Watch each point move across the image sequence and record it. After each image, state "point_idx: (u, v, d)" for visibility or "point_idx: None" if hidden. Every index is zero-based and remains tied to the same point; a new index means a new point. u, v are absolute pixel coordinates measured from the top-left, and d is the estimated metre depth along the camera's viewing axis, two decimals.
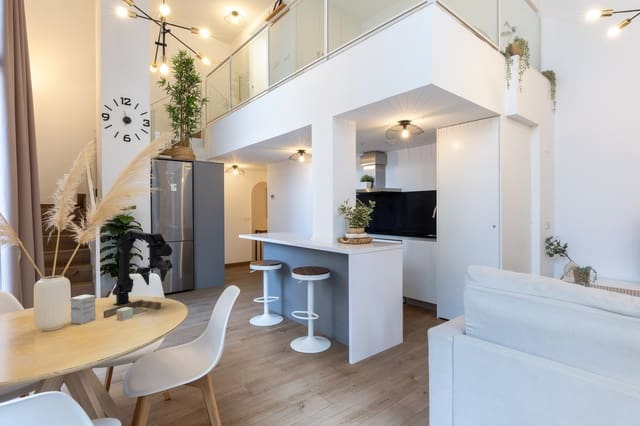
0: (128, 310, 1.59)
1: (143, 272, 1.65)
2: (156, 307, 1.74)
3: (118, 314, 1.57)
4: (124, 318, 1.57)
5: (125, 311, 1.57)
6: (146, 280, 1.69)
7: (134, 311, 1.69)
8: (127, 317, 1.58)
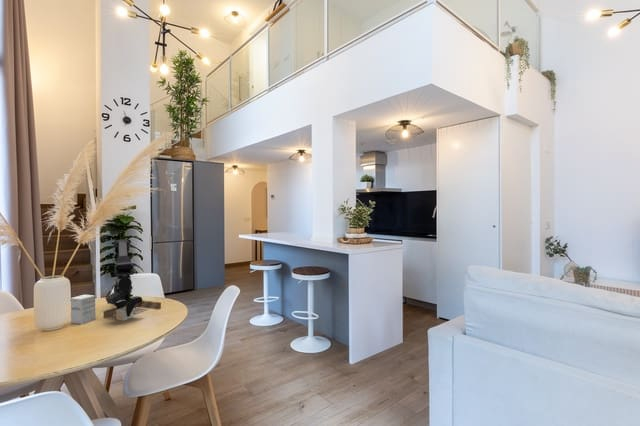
0: None
1: None
2: (156, 307, 1.74)
3: (118, 314, 1.57)
4: (124, 318, 1.57)
5: (125, 311, 1.57)
6: None
7: (134, 311, 1.69)
8: (127, 317, 1.58)
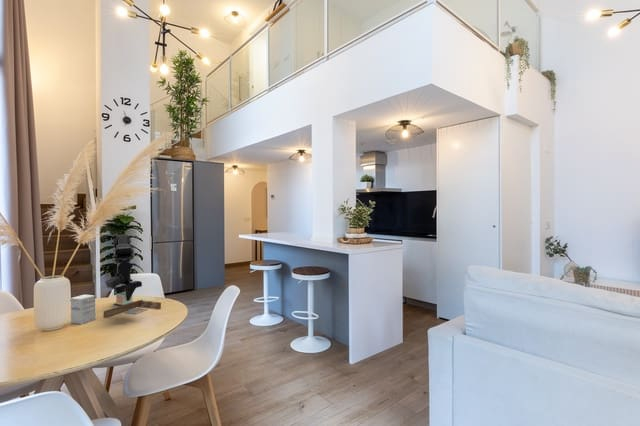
0: None
1: None
2: (156, 307, 1.74)
3: (118, 298, 1.57)
4: (124, 302, 1.56)
5: (125, 295, 1.57)
6: None
7: (134, 311, 1.69)
8: (127, 301, 1.58)
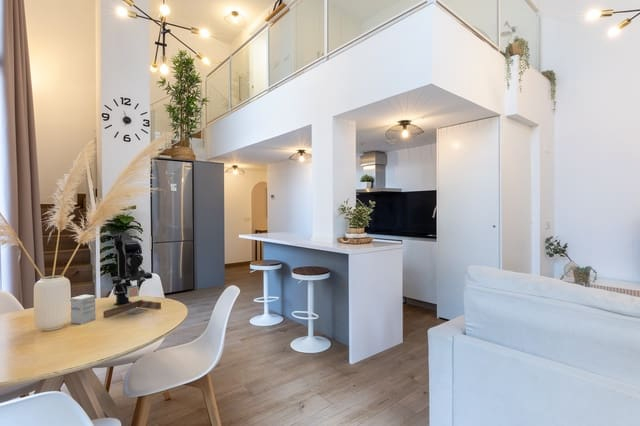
0: None
1: (113, 282, 1.58)
2: (156, 307, 1.74)
3: (131, 292, 1.64)
4: None
5: None
6: (124, 290, 1.64)
7: (134, 311, 1.69)
8: None
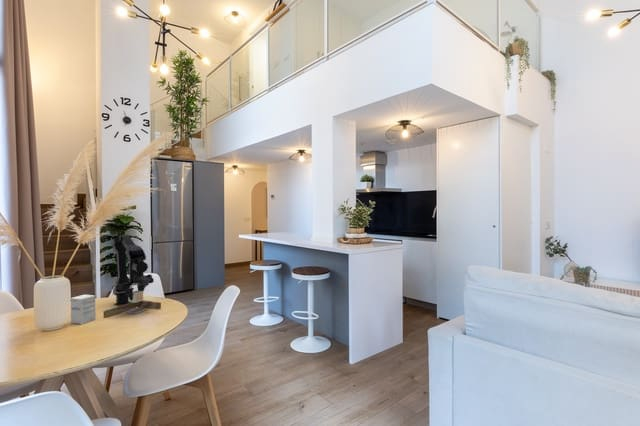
0: None
1: (123, 288, 1.61)
2: (156, 307, 1.74)
3: (138, 296, 1.68)
4: None
5: None
6: (129, 295, 1.67)
7: (134, 311, 1.69)
8: None
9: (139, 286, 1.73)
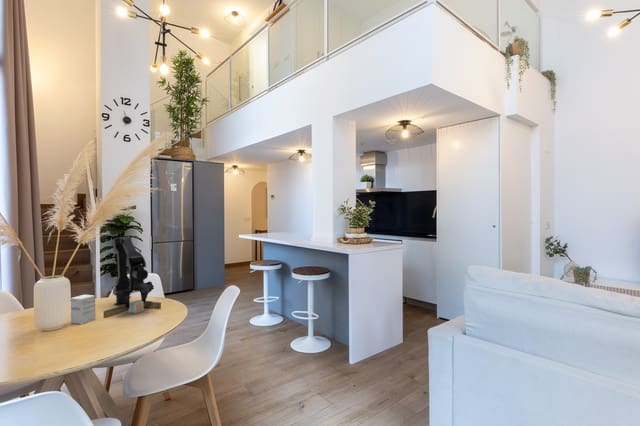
0: None
1: (123, 296, 1.61)
2: (156, 307, 1.74)
3: (138, 306, 1.68)
4: None
5: None
6: (126, 303, 1.65)
7: None
8: None
9: (142, 292, 1.75)
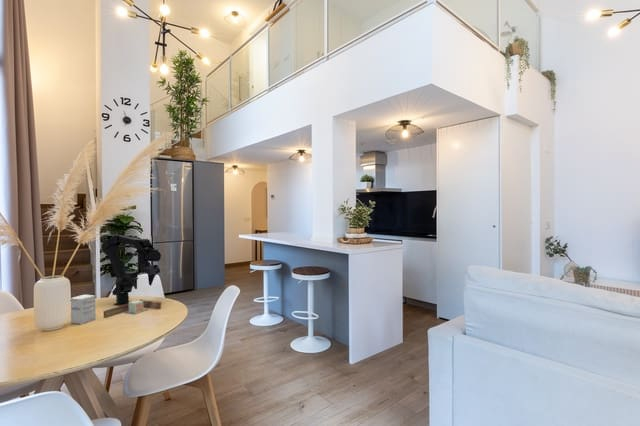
0: None
1: (131, 277, 1.71)
2: (156, 307, 1.74)
3: (138, 306, 1.68)
4: None
5: None
6: (134, 284, 1.76)
7: None
8: None
9: (149, 275, 1.86)
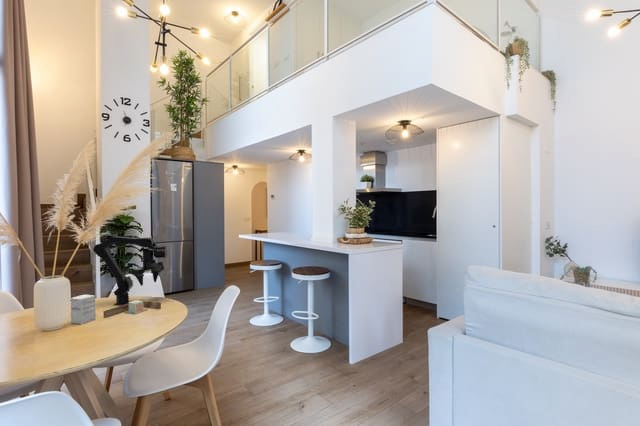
0: None
1: (138, 273, 1.79)
2: (156, 307, 1.74)
3: (138, 306, 1.68)
4: None
5: None
6: (140, 281, 1.83)
7: None
8: None
9: (154, 272, 1.94)
